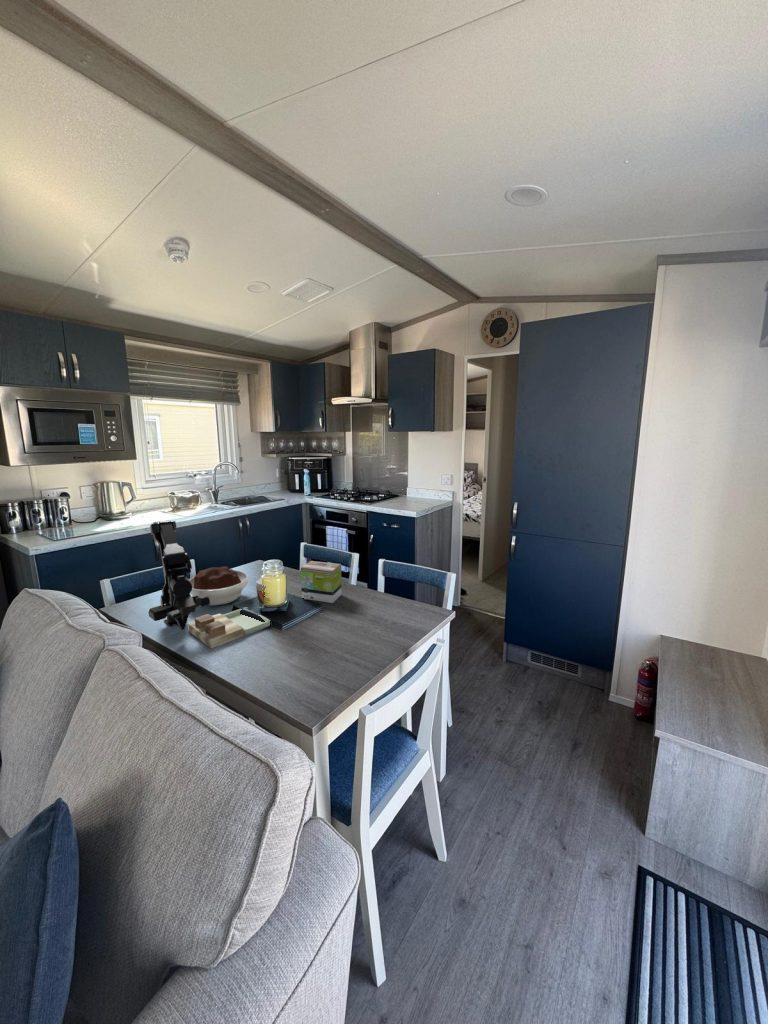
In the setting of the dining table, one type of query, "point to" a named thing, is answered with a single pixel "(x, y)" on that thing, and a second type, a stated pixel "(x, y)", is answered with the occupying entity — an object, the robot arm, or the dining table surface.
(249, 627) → the tray
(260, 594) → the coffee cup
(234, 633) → the birch bench plate
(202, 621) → the walnut tile
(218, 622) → the walnut tile
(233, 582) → the white serving bowl
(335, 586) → the tea box
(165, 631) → the dining table surface
